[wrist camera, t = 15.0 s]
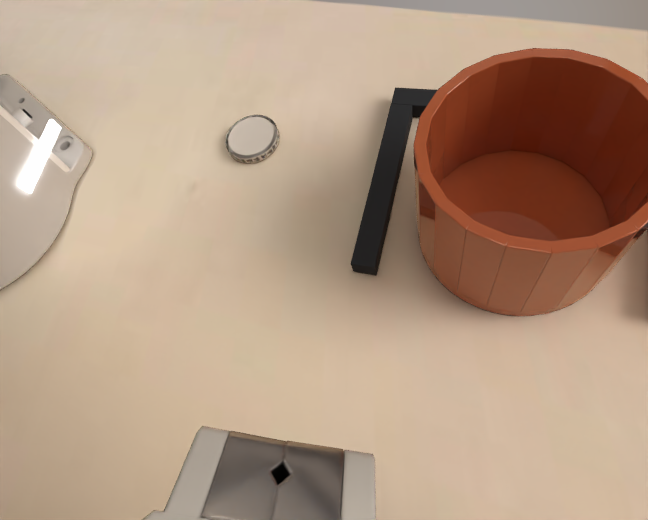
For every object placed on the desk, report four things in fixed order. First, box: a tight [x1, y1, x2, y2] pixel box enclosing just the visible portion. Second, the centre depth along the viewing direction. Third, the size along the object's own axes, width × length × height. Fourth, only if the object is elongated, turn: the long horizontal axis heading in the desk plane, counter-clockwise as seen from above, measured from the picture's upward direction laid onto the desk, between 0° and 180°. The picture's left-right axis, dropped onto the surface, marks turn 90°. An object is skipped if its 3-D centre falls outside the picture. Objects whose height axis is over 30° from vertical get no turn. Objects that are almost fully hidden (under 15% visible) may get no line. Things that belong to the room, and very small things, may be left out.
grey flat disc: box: [226, 115, 279, 163], centre depth 36 cm, size 4×4×1 cm
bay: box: [351, 88, 437, 275], centre depth 30 cm, size 14×18×1 cm
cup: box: [414, 48, 648, 316], centre depth 26 cm, size 11×11×8 cm
